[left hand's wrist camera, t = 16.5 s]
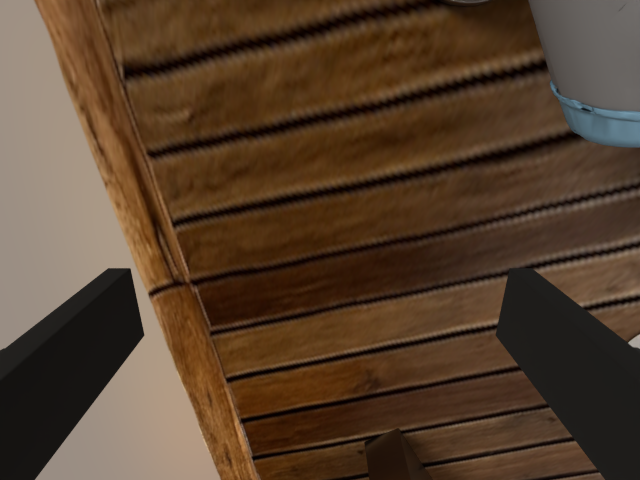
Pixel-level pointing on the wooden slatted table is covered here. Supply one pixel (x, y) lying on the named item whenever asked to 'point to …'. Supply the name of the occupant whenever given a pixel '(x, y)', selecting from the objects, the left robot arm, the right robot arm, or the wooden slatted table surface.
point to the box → (393, 459)
